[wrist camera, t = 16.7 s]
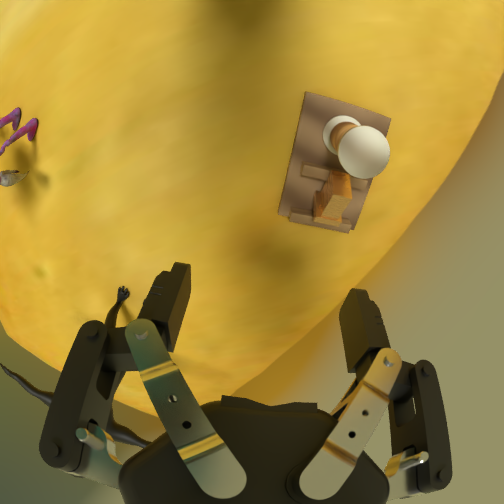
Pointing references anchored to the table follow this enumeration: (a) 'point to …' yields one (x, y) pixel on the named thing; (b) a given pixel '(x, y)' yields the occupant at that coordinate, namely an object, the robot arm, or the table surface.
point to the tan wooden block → (332, 199)
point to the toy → (5, 176)
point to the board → (333, 157)
